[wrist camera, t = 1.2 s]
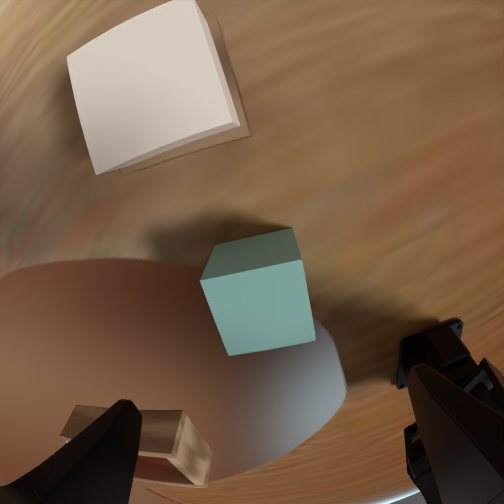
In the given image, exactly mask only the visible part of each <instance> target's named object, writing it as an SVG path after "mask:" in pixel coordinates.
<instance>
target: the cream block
mask: <svg viewBox="0 0 504 504" xmlns="http://www.w3.org/2000/svg"><path fill="white" fill-rule="evenodd" d="M67 63H68V68H69V74H70V79H71V84H72V89H73V93H74V98H75V102H76V106H77V110H78V115H79V118H80V122H81V126H82V130H83V134H84V137H85V141H86V144H87V148H88V151H89V154H90V158H91V161H92V164H93V167H94V170H95V173H96V175H99V174H102V173H106V172H109V171H112V170H116V169H119V168H123V167H127V166H130V165H133V164H135V163H137V162H140V161H142V160H145V159H147V158H149V157H152V156H154V155H157V154H160V153H162V152H165V151H167V150H170V149H173V148H175V147H178V146H181V145H184V144H186V143H189V142H192V141H195V140H198V139H201V138H204V137H207V136H210V135H213V134H216V133H219V132H222V131H225V130H229V129H232V128H235V127H239V126H240V123H239V120H238V117H237V113H236V110H235V107H234V104H233V100H232V97H231V94H230V91H229V88H228V85H227V82H226V78H225V75H224V72H223V69H222V66H221V63H220V60H219V57H218V54H217V51H216V48H215V45H214V42H213V39H212V36H211V33H210V30H209V27H208V24H207V21H206V20H205V18H204V16H203V14H202V12H201V10H200V9H199V7H198V5H197V3H196V1H195V0H173V1H170V2H167V3H165V4H163V5H160V6H158V7H155V8H153V9H151V10H149V11H146V12H144V13H142V14H140V15H138V16H136V17H134V18H132V19H130V20H128V21H126V22H124V23H122V24H120V25H118V26H116V27H114V28H112V29H111V30H109V31H107V32H105V33H103V34H102V35H100V36H98V37H97V38H95V39H93V40H92V41H90V42H88V43H87V44H85V45H84V46H82V47H81V48H79V49H78V50H76V51H75V52H73V53H72V54H70V55H69V56H67Z"/></svg>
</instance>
